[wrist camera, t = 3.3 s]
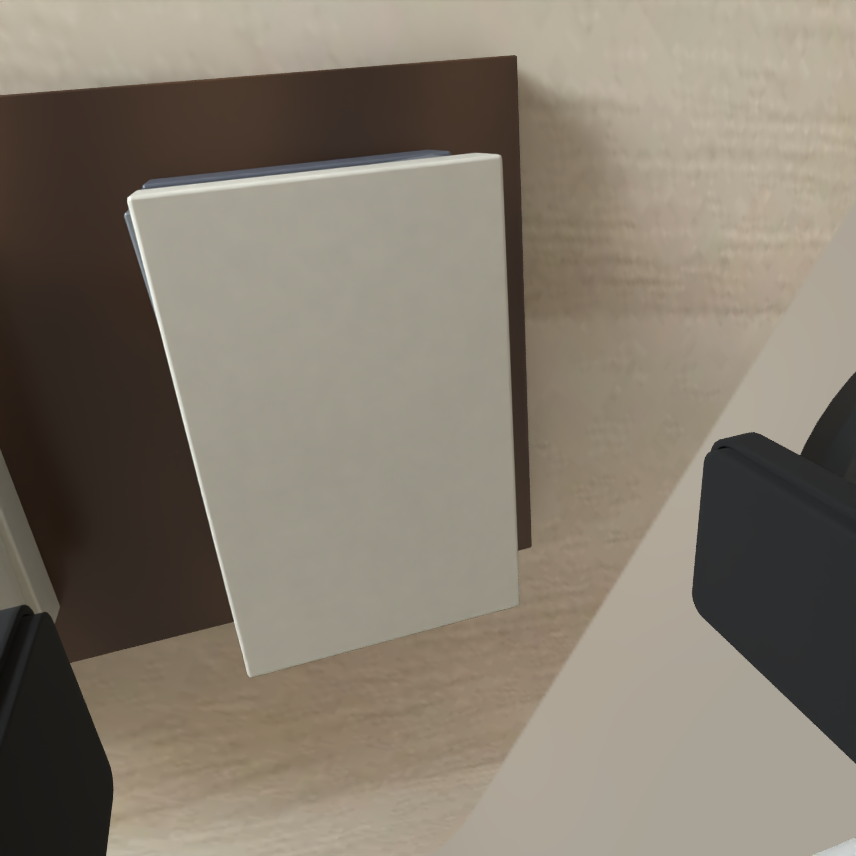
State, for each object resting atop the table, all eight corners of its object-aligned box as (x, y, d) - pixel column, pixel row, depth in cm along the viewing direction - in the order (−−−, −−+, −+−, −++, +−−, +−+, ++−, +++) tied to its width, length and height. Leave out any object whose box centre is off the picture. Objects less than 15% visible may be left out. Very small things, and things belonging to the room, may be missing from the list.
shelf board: (500, 59, 19) (517, 54, 18) (518, 529, 25) (532, 547, 24) (-664, 151, 13) (-738, 152, 12) (-272, 722, 20) (-300, 756, 18)
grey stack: (433, 148, 18) (482, 151, 15) (462, 517, 23) (504, 580, 19) (134, 181, 16) (117, 191, 13) (231, 571, 21) (236, 650, 18)
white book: (478, 151, 15) (504, 153, 13) (501, 576, 19) (521, 606, 18) (132, 190, 13) (125, 196, 12) (245, 642, 18) (248, 680, 16)
